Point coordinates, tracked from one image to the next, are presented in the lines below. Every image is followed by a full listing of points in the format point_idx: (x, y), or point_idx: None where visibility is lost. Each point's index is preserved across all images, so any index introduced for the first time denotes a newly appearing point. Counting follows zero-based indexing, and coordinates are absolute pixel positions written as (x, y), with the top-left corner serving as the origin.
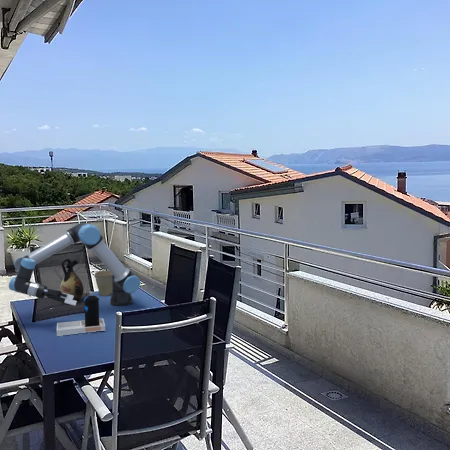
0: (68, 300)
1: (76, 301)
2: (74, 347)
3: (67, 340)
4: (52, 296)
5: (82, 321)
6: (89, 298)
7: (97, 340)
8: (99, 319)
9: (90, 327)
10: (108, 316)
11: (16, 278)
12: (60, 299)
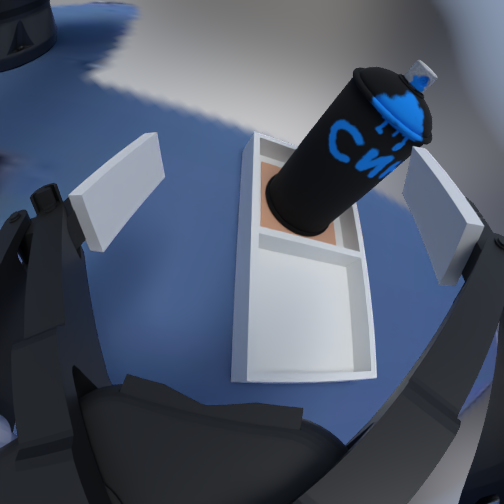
0: (113, 191)
1: (157, 138)
2: (437, 313)
3: (393, 333)
4: (358, 432)
5: (256, 221)
6: (430, 115)
7: (400, 235)
8: (259, 147)
9: (357, 219)
10: (137, 102)
11: None
12: (81, 281)
